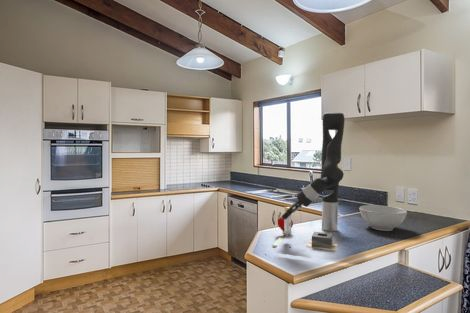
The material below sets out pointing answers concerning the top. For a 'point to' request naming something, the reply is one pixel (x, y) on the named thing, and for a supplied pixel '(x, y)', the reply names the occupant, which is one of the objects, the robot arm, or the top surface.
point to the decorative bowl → (383, 216)
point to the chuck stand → (322, 241)
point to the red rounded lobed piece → (281, 224)
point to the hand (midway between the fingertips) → (284, 217)
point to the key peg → (287, 222)
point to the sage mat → (277, 242)
